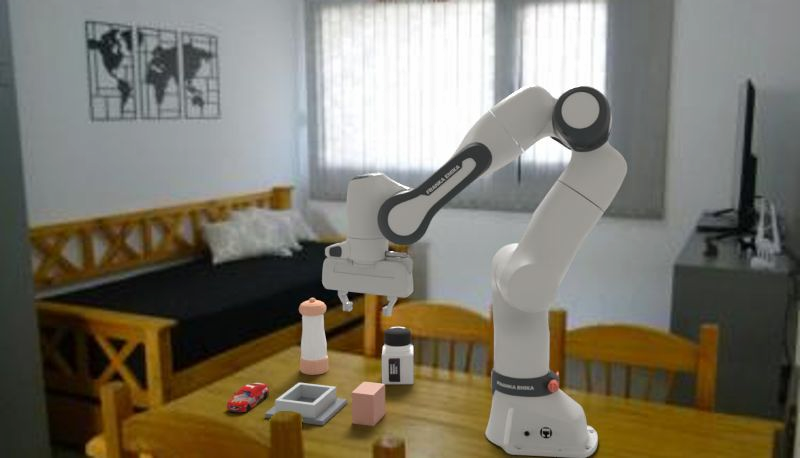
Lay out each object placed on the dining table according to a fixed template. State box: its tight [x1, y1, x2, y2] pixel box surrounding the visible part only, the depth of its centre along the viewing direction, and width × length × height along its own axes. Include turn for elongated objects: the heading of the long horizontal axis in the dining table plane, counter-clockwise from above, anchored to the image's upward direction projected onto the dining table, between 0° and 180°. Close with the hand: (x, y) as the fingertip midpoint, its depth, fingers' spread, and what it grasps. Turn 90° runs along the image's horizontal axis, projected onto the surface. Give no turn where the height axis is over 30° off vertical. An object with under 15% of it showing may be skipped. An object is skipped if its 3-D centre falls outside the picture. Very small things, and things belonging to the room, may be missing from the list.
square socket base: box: [264, 382, 348, 426], centre depth 171 cm, size 14×13×4 cm
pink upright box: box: [351, 381, 386, 427], centre depth 166 cm, size 5×7×7 cm
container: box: [381, 326, 415, 385], centre depth 189 cm, size 8×8×13 cm
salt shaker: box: [298, 297, 329, 376], centre depth 196 cm, size 7×7×19 cm
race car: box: [226, 382, 270, 413], centre depth 176 cm, size 13×5×4 cm, turn 160°
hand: (367, 313), depth 163 cm, fingers open, 8 cm apart
